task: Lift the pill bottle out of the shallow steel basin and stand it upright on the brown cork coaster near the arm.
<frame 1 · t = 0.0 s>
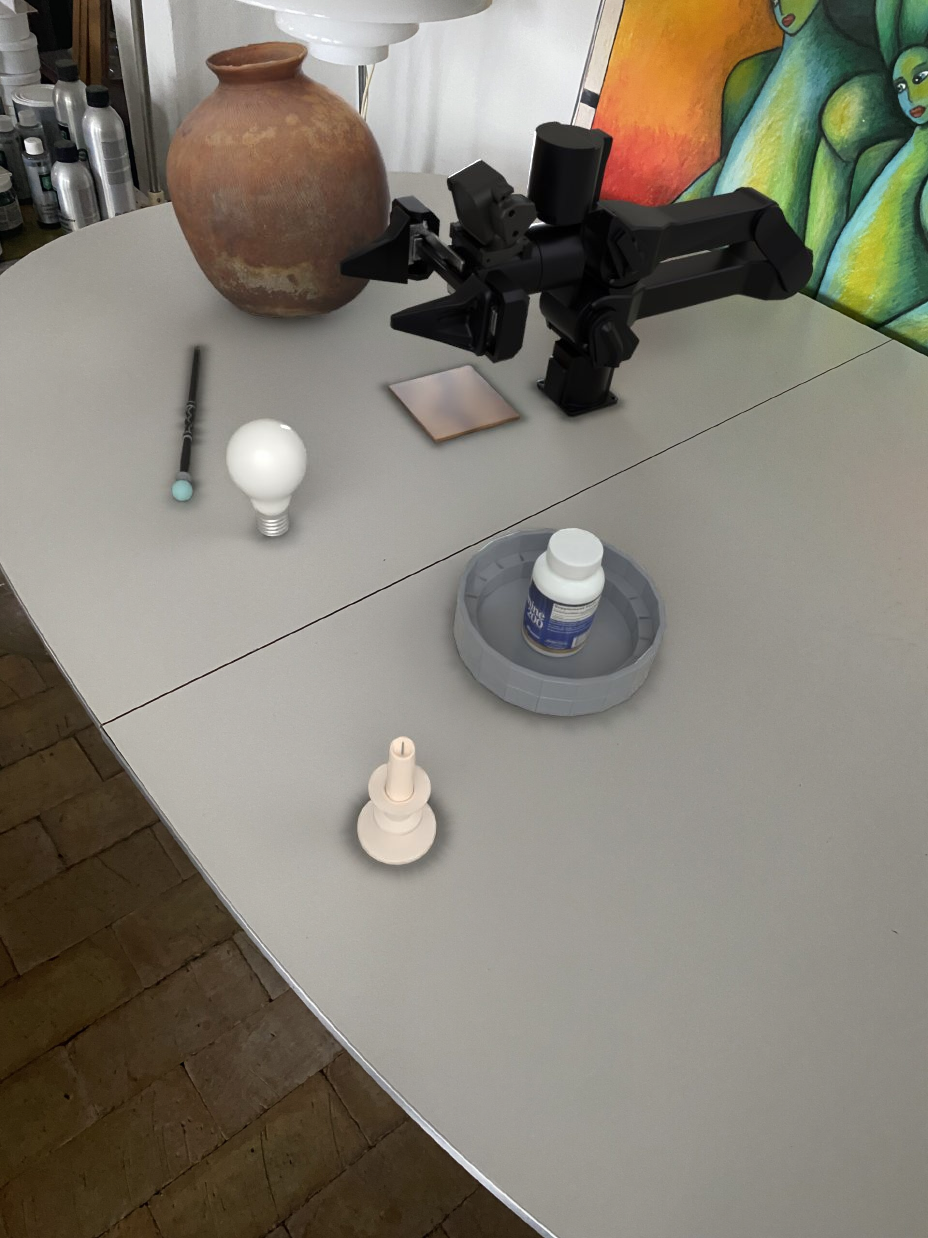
hand: (364, 294, 71), 17 cm above the table, tool horizontal, fingers open, 9 cm apart
basin: (552, 637, 70), on the table
pottery: (288, 298, 102), on the table
magic wand: (191, 421, 85), on the table
coaster: (453, 403, 90), on the table
candle: (396, 830, 58), on the table
lightbulb: (274, 532, 76), on the table
pill bottle: (553, 635, 70), resting on basin
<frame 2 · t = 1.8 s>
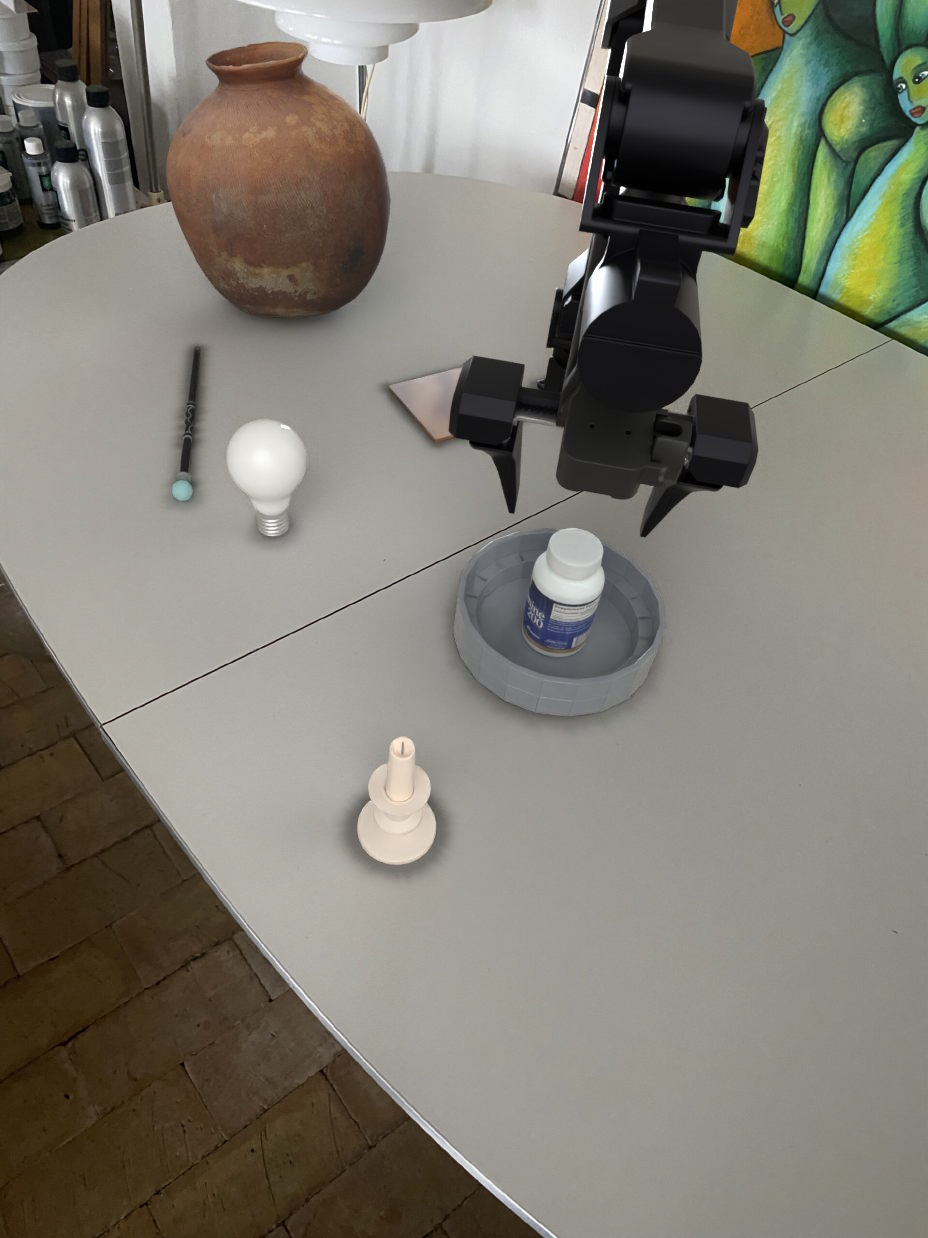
hand: (577, 521, 61), 13 cm above the table, tool pointing down, fingers open, 9 cm apart
nothing on the table moved.
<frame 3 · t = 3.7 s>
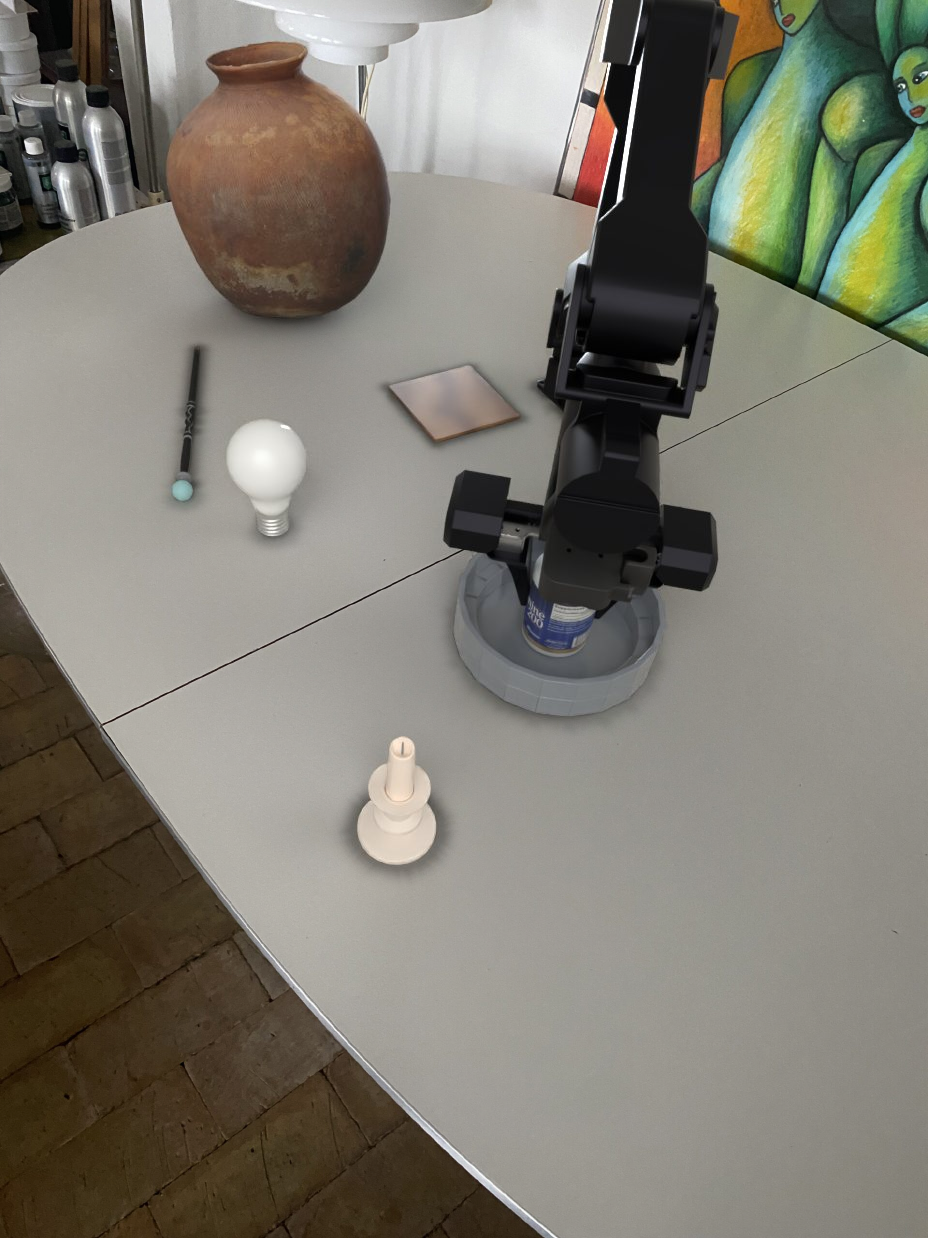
hand: (559, 608, 68), 4 cm above the table, tool pointing down, fingers closed on pill bottle, 5 cm apart
pill bottle: (553, 635, 70), resting on basin, touching gripper
everything else where it was.
when the fingers open (3 cm above the table, at t = 9.9 s): pill bottle stays where it is, resting on coaster.
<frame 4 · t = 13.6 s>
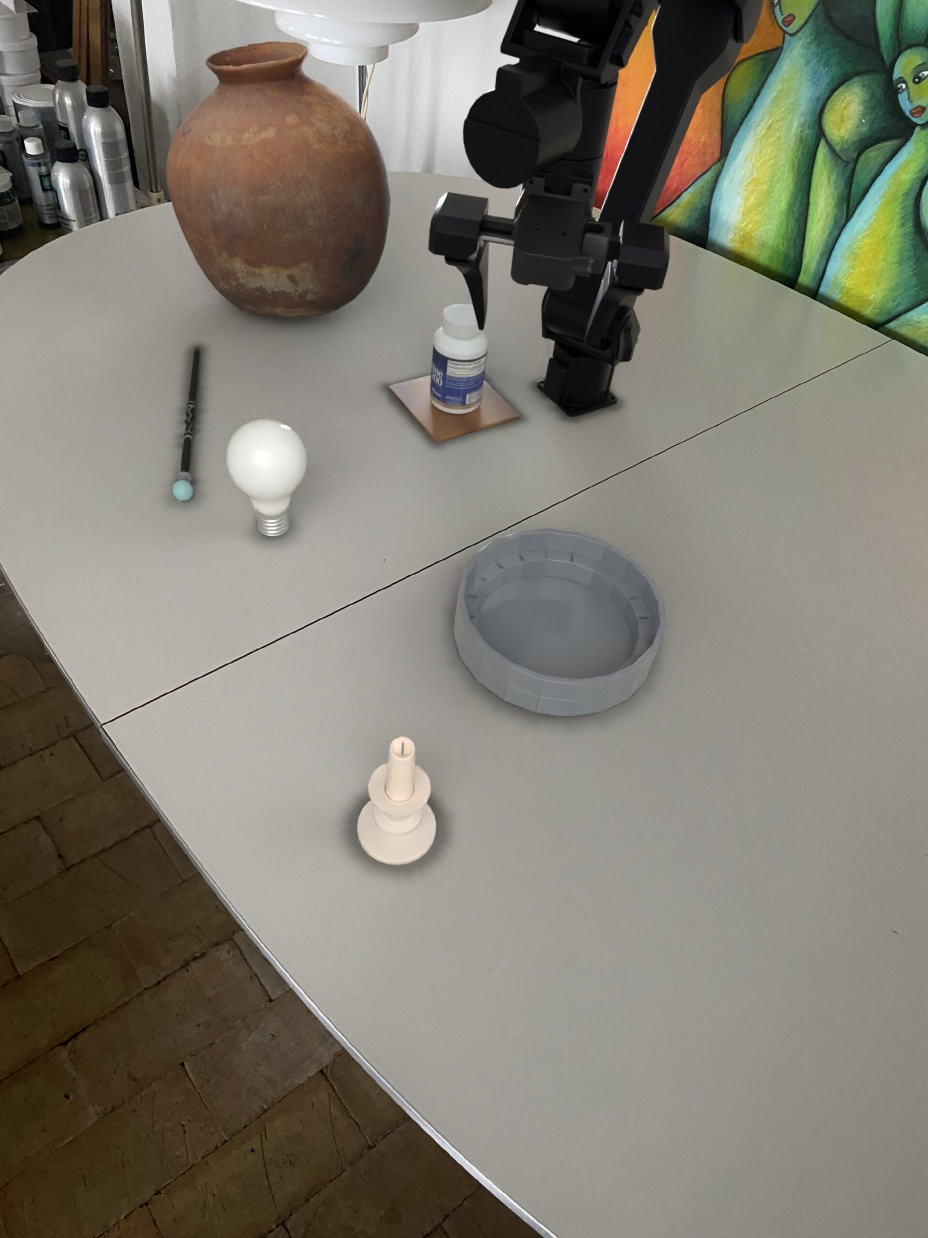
hand: (533, 336, 76), 13 cm above the table, tool pointing down, fingers open, 9 cm apart
pill bottle: (455, 402, 90), resting on coaster
everything else where it was.
at the end: pill bottle inside the target area on the coaster (0.1 cm from its centre), point 0.2 cm above the coaster's base; pill bottle tilted 0°; pill bottle touching coaster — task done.
